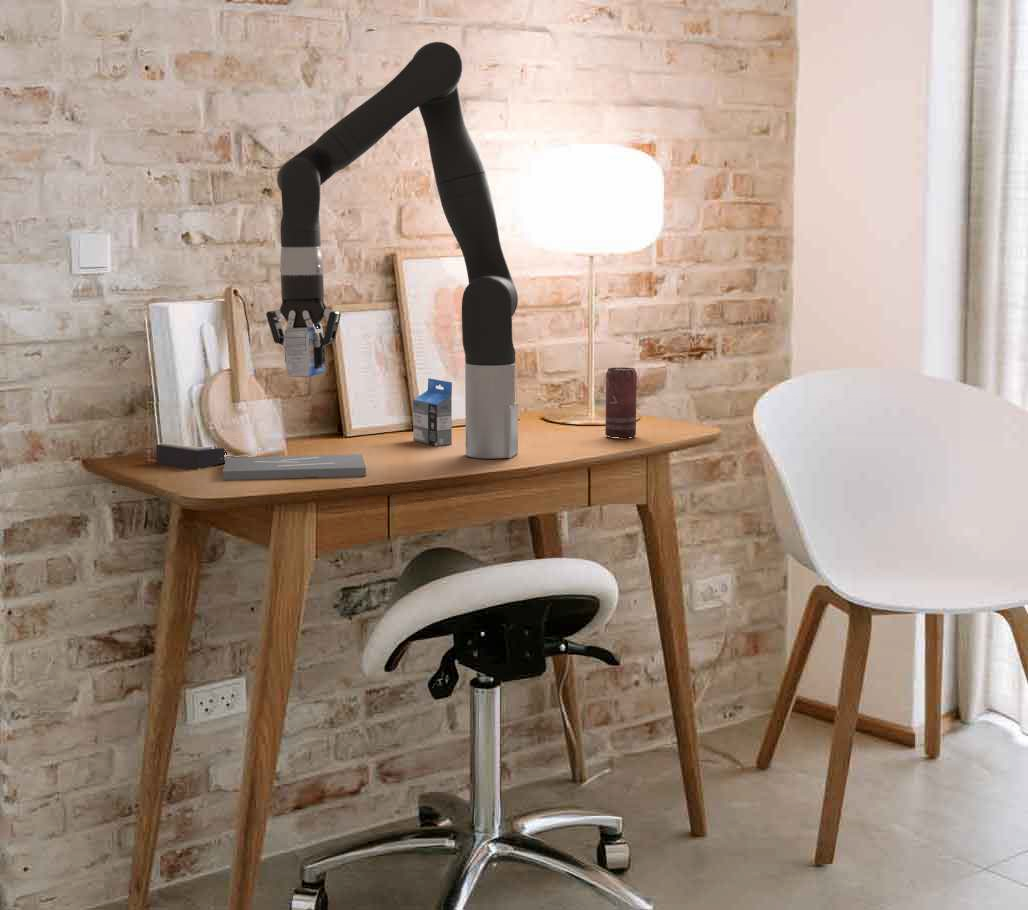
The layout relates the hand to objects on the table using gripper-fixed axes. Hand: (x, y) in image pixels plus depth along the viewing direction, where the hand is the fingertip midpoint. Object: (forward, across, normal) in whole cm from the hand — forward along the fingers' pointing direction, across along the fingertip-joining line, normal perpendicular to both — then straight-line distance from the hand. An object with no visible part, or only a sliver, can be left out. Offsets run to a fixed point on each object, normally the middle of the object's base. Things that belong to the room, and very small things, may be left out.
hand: (305, 367), depth 248 cm
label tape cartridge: (+17, -16, -25) cm, 34 cm away
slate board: (+17, -2, +12) cm, 21 cm away
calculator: (+17, +17, +6) cm, 25 cm away
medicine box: (+2, 0, 0) cm, 2 cm away
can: (+18, -50, -41) cm, 68 cm away
